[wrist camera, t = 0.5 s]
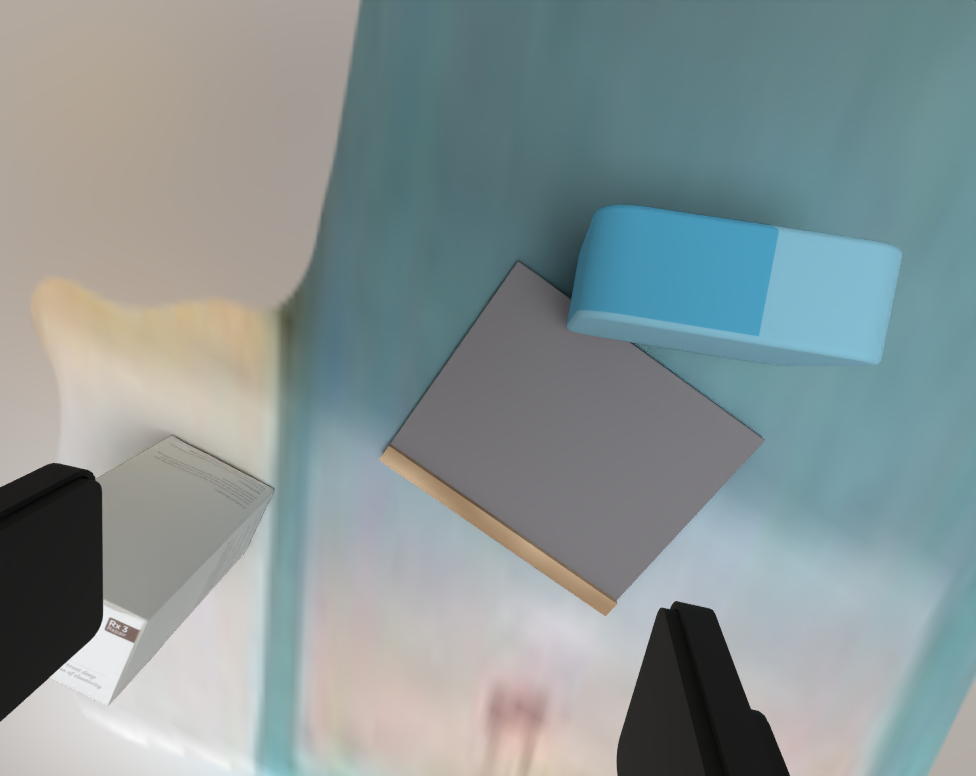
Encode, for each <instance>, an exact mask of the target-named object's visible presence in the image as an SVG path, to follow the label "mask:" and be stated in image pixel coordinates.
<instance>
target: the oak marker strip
mask: <svg viewBox="0 0 976 776" xmlns="http://www.w3.org/2000/svg"><path fill="white" fill-rule="evenodd" d="M379 460H380V461H381V462H383V463H384V464H386V465H387V466H389V467H390V468H391V469H393V470H394V471H396V472H397V473H399V474H400V475H402V476H403V477H404V478H406V479H407V480H409V481H410V482H412V483H413V484H415V485H416V486H418V487H419V488H420V489H422V490H423V491H425V492H426V493H428V494H429V495H431V496H432V497H433V498H435V499H436V500H438V501H439V502H441V503H442V504H444V505H445V506H446V507H448V508H449V509H451V510H452V511H454V512H455V513H457V514H458V515H460V516H461V517H462V518H464V519H465V520H467V521H468V522H470V523H471V524H473V525H474V526H475V527H477V528H478V529H480V530H481V531H483V532H484V533H486V534H487V535H488V536H490V537H491V538H493V539H494V540H496V541H497V542H499V543H500V544H502V545H503V546H504V547H506V548H507V549H509V550H510V551H512V552H513V553H515V554H516V555H517V556H519V557H520V558H522V559H523V560H525V561H526V562H528V563H529V564H531V565H532V566H533V567H535V568H536V569H538V570H539V571H541V572H542V573H544V574H545V575H546V576H548V577H549V578H551V579H552V580H554V581H555V582H557V583H558V584H559V585H561V586H562V587H564V588H565V589H567V590H568V591H570V592H571V593H573V594H574V595H575V596H577V597H578V598H580V599H581V600H583V601H584V602H586V603H587V604H588V605H590V606H591V607H593V608H594V609H596V610H597V611H599V612H600V613H601V614H603V615H604V616H606V615H607V614H608V613H609V612H610V611H611V610H612V609H613V608H614V607H615V606H616V605H617V600H615V599H614V598H612V597H611V596H610V595H608V594H607V593H605V592H604V591H602V590H601V589H599V588H598V587H597V586H595V585H594V584H592V583H591V582H589V581H588V580H587V579H585V578H584V577H582V576H581V575H579V574H578V573H576V572H575V571H574V570H572V569H571V568H569V567H568V566H566V565H565V564H563V563H562V562H561V561H559V560H558V559H556V558H555V557H553V556H552V555H550V554H549V553H548V552H546V551H545V550H543V549H542V548H540V547H539V546H537V545H536V544H535V543H533V542H532V541H530V540H529V539H527V538H526V537H524V536H523V535H522V534H520V533H519V532H517V531H516V530H514V529H513V528H512V527H510V526H509V525H507V524H506V523H504V522H503V521H501V520H500V519H499V518H497V517H496V516H494V515H493V514H491V513H490V512H488V511H487V510H486V509H484V508H483V507H481V506H480V505H478V504H477V503H475V502H474V501H473V500H471V499H470V498H468V497H467V496H465V495H464V494H462V493H461V492H460V491H458V490H457V489H455V488H454V487H452V486H451V485H449V484H448V483H447V482H445V481H444V480H442V479H441V478H439V477H438V476H436V475H435V474H434V473H432V472H431V471H429V470H428V469H426V468H425V467H424V466H422V465H421V464H419V463H418V462H416V461H415V460H413V459H412V458H411V457H409V456H408V455H406V454H405V453H403V452H402V451H400V450H399V449H398V448H396V447H395V446H393V445H392V444H390V445H389V446H388V448H387V449H386V450H385V452H384V453H383V455H382V456H381V458H380V459H379Z"/></svg>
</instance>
